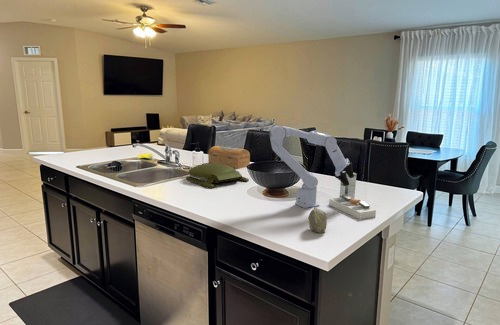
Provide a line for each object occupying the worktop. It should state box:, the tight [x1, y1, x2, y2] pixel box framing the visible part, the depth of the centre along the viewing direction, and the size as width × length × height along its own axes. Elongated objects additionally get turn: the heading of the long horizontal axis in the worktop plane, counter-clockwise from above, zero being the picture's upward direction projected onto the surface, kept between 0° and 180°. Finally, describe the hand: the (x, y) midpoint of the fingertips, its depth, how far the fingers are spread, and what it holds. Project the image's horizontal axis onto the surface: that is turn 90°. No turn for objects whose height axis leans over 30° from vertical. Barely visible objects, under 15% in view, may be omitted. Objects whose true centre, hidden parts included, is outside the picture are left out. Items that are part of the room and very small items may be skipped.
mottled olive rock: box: [308, 207, 328, 233], centre depth 138 cm, size 9×8×10 cm
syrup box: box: [338, 171, 357, 199], centre depth 180 cm, size 6×6×14 cm
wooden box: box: [207, 145, 251, 170], centre depth 266 cm, size 30×16×14 cm, turn 51°
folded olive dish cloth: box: [185, 163, 250, 189], centre depth 219 cm, size 35×31×10 cm
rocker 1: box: [350, 198, 361, 203], centre depth 164 cm, size 3×4×1 cm, turn 25°
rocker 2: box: [359, 200, 371, 208], centre depth 158 cm, size 3×4×1 cm, turn 24°
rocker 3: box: [342, 194, 352, 201], centre depth 169 cm, size 3×4×1 cm, turn 25°
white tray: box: [328, 196, 377, 220], centre depth 163 cm, size 9×22×3 cm, turn 24°
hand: (349, 181), depth 170 cm, fingers open, 7 cm apart
